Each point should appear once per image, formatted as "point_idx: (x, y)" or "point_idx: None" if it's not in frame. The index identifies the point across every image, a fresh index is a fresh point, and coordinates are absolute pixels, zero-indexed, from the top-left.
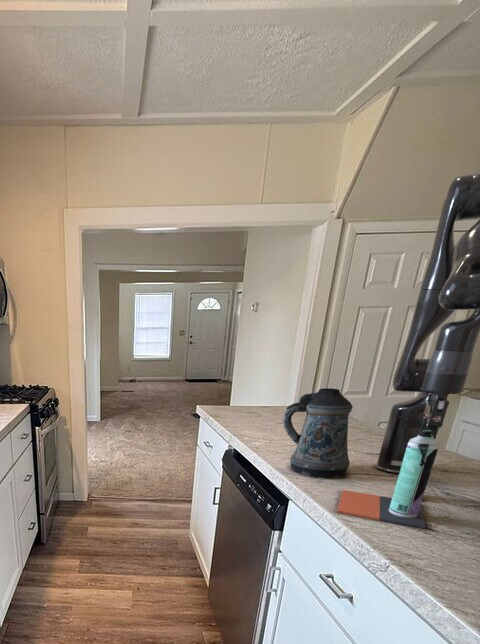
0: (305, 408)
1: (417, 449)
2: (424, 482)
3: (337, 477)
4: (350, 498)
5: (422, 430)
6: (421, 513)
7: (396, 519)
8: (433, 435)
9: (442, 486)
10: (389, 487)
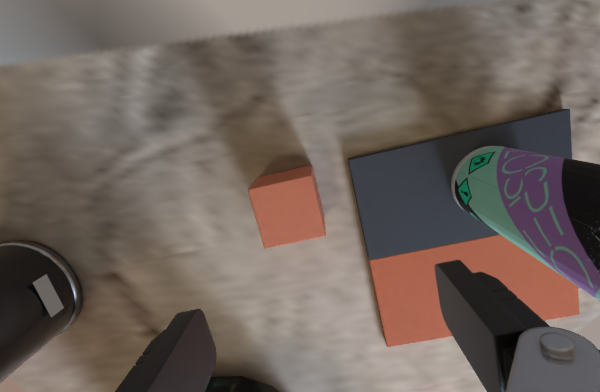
0: None
1: None
2: None
3: (263, 384)
4: None
5: (202, 383)
6: (452, 139)
7: None
8: (523, 307)
9: (93, 138)
10: (238, 257)
